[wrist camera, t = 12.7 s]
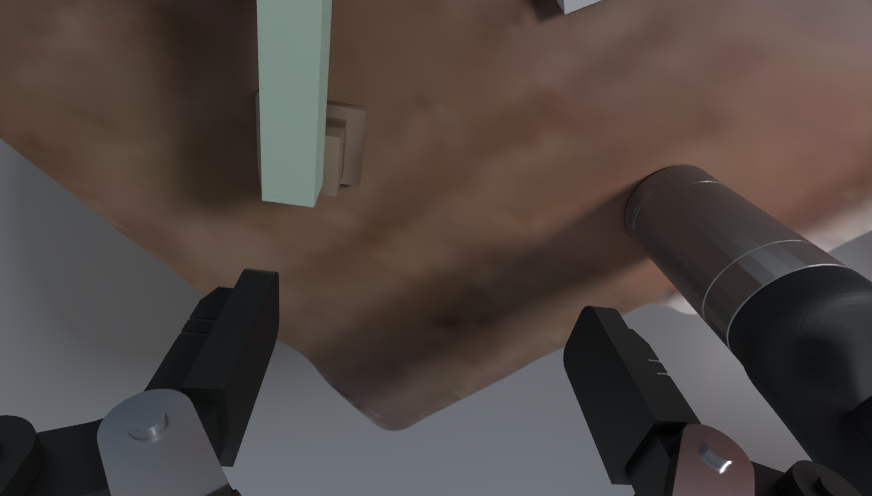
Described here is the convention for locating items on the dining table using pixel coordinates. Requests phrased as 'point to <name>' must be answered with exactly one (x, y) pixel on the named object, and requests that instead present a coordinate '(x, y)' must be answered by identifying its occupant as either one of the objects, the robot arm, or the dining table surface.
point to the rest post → (335, 145)
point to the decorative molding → (574, 4)
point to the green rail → (293, 97)
